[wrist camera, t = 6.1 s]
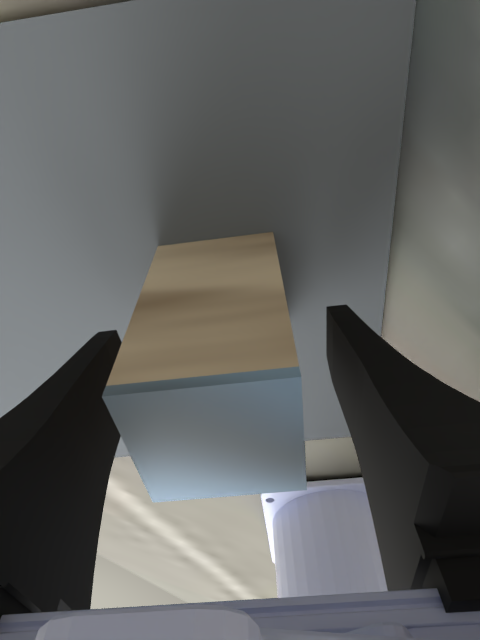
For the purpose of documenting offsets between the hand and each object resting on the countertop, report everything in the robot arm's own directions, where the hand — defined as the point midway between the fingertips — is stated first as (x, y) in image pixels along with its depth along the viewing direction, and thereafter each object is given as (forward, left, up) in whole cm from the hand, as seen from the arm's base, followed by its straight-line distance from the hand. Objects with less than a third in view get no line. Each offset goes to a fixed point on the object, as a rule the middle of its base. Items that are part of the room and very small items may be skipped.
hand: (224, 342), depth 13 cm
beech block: (0, 0, -3) cm, 3 cm away
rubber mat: (0, +5, -3) cm, 6 cm away
